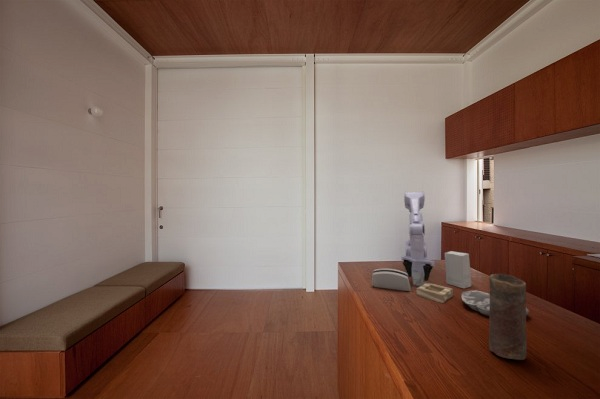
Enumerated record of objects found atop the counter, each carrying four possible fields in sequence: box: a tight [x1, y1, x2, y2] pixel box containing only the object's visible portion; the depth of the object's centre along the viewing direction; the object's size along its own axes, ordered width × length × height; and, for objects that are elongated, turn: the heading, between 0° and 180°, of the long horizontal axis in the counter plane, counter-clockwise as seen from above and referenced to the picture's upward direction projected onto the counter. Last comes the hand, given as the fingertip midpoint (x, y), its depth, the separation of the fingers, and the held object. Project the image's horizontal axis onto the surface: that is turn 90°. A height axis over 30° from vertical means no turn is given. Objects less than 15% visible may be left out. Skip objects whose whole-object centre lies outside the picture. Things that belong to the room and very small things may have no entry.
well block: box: [416, 282, 454, 304], centre depth 100 cm, size 10×10×3 cm
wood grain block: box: [412, 270, 427, 287], centre depth 113 cm, size 4×4×6 cm
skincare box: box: [444, 250, 472, 289], centre depth 111 cm, size 8×6×15 cm
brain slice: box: [460, 290, 530, 317], centre depth 88 cm, size 20×17×3 cm
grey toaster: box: [371, 268, 412, 292], centre depth 110 cm, size 17×5×10 cm, turn 65°
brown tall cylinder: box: [488, 273, 527, 361], centre depth 63 cm, size 8×7×20 cm
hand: (417, 278), depth 112 cm, fingers open, 7 cm apart
